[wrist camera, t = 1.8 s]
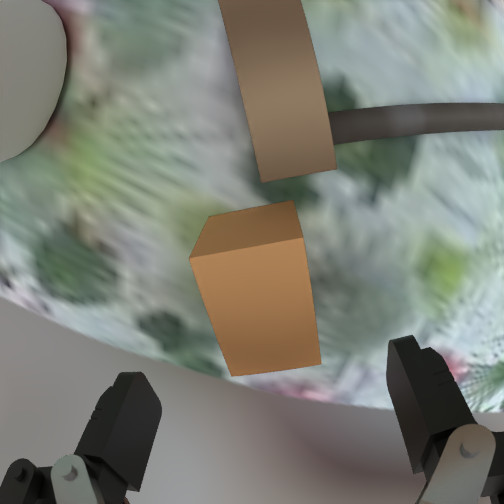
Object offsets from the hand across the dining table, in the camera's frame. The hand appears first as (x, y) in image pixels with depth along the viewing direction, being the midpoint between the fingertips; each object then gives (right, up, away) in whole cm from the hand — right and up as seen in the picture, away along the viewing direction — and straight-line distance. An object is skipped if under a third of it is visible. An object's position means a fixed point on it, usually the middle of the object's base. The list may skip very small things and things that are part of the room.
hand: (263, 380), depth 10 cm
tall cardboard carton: (0, +3, +7) cm, 8 cm away
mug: (-15, +15, +2) cm, 21 cm away
